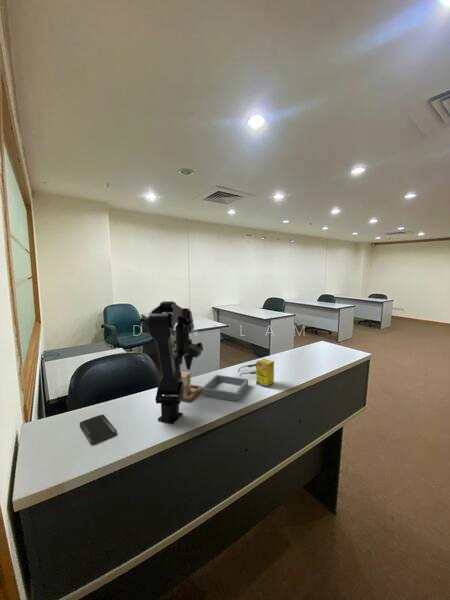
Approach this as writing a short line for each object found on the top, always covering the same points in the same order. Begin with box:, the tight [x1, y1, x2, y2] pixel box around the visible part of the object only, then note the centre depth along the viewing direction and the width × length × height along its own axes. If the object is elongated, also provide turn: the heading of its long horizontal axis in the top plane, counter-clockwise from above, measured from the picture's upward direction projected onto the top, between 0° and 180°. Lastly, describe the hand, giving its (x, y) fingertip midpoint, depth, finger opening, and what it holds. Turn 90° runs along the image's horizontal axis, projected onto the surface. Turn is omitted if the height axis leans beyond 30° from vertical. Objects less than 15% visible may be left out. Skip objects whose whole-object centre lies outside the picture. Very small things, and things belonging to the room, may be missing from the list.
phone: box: [79, 414, 118, 446], centre depth 82 cm, size 8×1×15 cm
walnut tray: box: [163, 384, 203, 403], centre depth 107 cm, size 12×12×2 cm
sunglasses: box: [237, 363, 256, 377], centre depth 128 cm, size 10×12×5 cm
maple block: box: [180, 371, 192, 395], centre depth 106 cm, size 4×4×8 cm
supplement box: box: [255, 358, 275, 389], centre depth 115 cm, size 6×6×11 cm
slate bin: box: [201, 374, 249, 402], centre depth 109 cm, size 16×16×3 cm
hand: (183, 373), depth 106 cm, fingers open, 9 cm apart
